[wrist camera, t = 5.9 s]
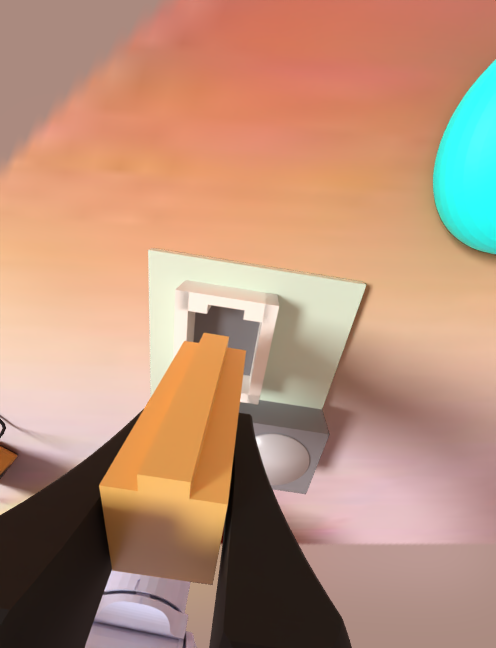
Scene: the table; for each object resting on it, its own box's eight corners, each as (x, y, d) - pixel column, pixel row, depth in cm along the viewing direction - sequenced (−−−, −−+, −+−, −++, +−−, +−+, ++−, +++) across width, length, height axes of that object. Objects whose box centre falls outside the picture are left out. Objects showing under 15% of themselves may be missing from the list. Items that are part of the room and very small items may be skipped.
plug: (235, 414, 14) (212, 587, 8) (181, 406, 14) (112, 572, 8) (247, 339, 12) (230, 488, 6) (184, 329, 12) (96, 468, 6)
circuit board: (299, 462, 25) (300, 470, 24) (154, 440, 24) (151, 447, 24) (362, 281, 17) (366, 284, 16) (153, 248, 17) (148, 249, 16)
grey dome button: (301, 466, 24) (306, 496, 21) (227, 455, 24) (222, 483, 21) (322, 409, 21) (329, 436, 18) (236, 396, 21) (233, 421, 18)
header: (258, 384, 20) (258, 404, 18) (181, 372, 20) (172, 391, 18) (277, 294, 17) (279, 306, 15) (185, 279, 17) (175, 289, 15)
